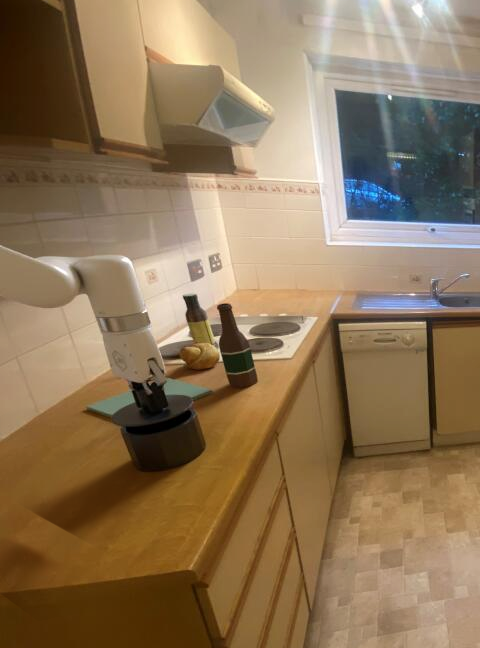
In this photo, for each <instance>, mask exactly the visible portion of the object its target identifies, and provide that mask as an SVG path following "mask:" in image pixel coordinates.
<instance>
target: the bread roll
mask: <svg viewBox="0 0 480 648" xmlns="http://www.w3.org/2000/svg"><path fill="white" fill-rule="evenodd" d="M178 355H179V357H180V359H181V360H182V362H184V363H185V364H186V366H187V368H189V369H191V370H206V369H210V368H213V367H215V366H216V365H217V364H218V363H219V361H220V358H221V357H220V356H221V354H220V351H219V349H218V348H217V346H216V347H215V346H214V345H211V344H209V343H197V344H194V343H193V344H192V345H190V346H184V347H182V348H181V349H180V350H179V351H178Z"/></svg>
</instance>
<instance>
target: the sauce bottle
mask: <svg viewBox="0 0 480 648" xmlns="http://www.w3.org/2000/svg"><path fill="white" fill-rule="evenodd" d="M198 298H199V297H198V293H195V292H193V293H192V292H191V293H185V294H183V295H182V299H183V300H184V303H185V306H186V311H185V313H184V315H185V316H184V317H185V320H186V323H187V326H188V329H189V333H190V336H191V339H192V341H193V345H194V344H197V343H209V344H211V345H214V346H216V347H217V345H216V340H215V336H214V333H213V330H212V327H211V324H210V320H209V317H208V314H207V312H206V310H205V309H203V308H202V307H201V305H200V302H199V299H198Z"/></svg>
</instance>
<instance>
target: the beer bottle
mask: <svg viewBox="0 0 480 648" xmlns="http://www.w3.org/2000/svg"><path fill="white" fill-rule="evenodd" d="M216 310H217V311H218V315H219V319H220V325H221V334H220V336H219V341H218V347H219V353H220V356H221V360H222V363H223V367H224V370H225V375H226V378H227V381H228V384H229V386H230V388H231V387H232V389H243V388H247V387H251V386H253V385H255V384H256V383H258V382H259V380H258V379H259V378H258V374H257V370H256V365H255V362H254V357H253V354H252V351H251V346H250V343H249V340H248V339H247V338H246V336H245V335H244V333H242V332H241V331H240V329H239V328H238V327H239V326H238V324H237V322H236V319H235V318H236V317H235V316H234V313H233V306H232V304H231V303H228V302H227V303H219V304H217V305H216Z"/></svg>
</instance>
